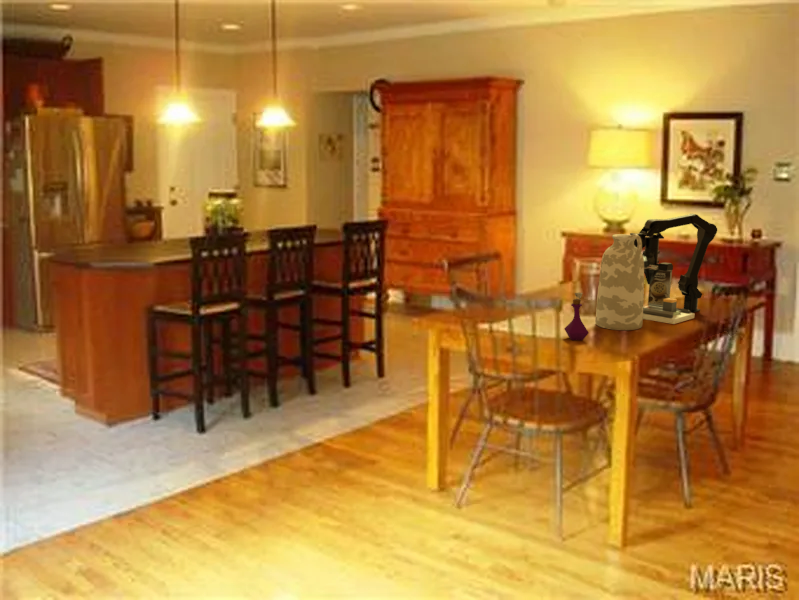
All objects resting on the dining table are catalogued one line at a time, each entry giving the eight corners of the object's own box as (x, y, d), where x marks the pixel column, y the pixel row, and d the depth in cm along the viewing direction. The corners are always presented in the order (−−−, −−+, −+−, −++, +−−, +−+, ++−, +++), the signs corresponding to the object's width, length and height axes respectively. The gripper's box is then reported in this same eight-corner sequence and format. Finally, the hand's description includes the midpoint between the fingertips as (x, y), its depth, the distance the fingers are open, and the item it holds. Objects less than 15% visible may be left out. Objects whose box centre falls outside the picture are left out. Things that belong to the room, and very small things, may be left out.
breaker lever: (667, 311, 390) (668, 297, 388) (675, 313, 387) (676, 299, 386) (662, 313, 387) (663, 299, 386) (671, 314, 384) (672, 300, 383)
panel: (647, 310, 404) (648, 302, 403) (694, 318, 389) (694, 310, 388) (626, 315, 391) (626, 307, 391) (673, 324, 376) (674, 315, 375)
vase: (586, 322, 376) (591, 230, 369) (623, 319, 384) (629, 228, 377) (616, 333, 358) (622, 235, 351) (654, 329, 365) (661, 234, 358)
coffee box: (647, 304, 417) (649, 269, 414) (649, 302, 423) (651, 267, 420) (668, 306, 414) (670, 271, 411) (669, 303, 420) (672, 269, 417)
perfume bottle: (563, 336, 350) (566, 290, 347) (582, 336, 351) (585, 290, 348) (568, 341, 343) (571, 294, 340) (588, 341, 344) (591, 294, 340)
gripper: (622, 248, 397) (620, 283, 400) (661, 252, 384) (659, 289, 387) (636, 246, 405) (633, 280, 408) (674, 250, 392) (672, 286, 395)
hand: (649, 284), depth 399 cm, fingers closed
